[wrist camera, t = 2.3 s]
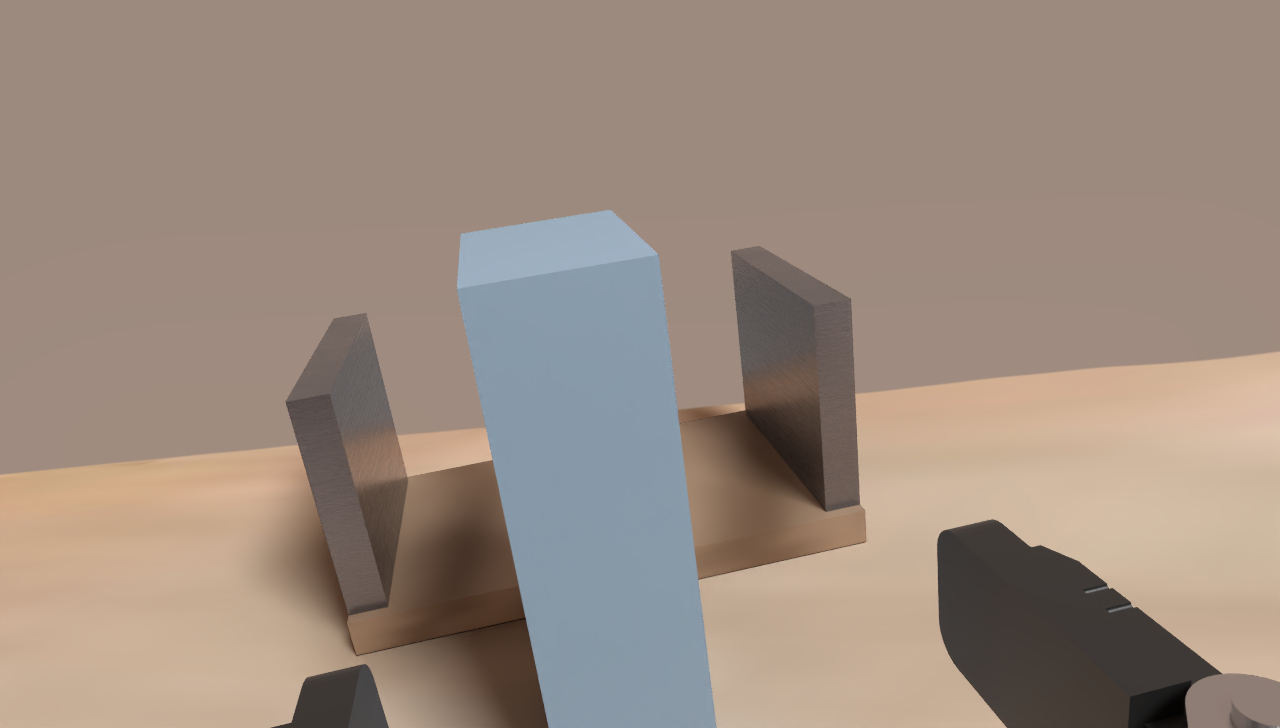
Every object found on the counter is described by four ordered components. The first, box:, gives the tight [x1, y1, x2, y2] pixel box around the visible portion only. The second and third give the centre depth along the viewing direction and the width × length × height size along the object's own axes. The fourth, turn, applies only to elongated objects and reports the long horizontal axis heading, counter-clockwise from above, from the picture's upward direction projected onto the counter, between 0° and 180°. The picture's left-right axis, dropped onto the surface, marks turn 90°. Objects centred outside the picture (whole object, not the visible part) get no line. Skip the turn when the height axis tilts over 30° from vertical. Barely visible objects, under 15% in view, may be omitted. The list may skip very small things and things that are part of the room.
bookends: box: [286, 246, 860, 615], centre depth 37 cm, size 21×11×9 cm, turn 101°
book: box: [457, 210, 716, 728], centre depth 24 cm, size 4×7×16 cm, turn 11°
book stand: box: [347, 410, 866, 655], centre depth 39 cm, size 21×12×2 cm, turn 101°
